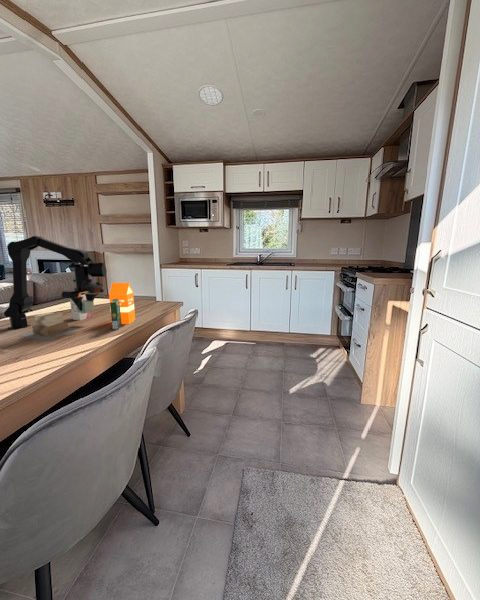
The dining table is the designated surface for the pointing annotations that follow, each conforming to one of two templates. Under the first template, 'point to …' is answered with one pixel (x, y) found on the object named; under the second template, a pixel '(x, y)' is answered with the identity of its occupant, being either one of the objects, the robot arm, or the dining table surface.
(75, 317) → the ink cartridge box
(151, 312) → the dining table surface
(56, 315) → the birch block
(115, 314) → the coffee box
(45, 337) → the slate mat
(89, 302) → the sage cube
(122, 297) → the orange juice
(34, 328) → the walnut slab
